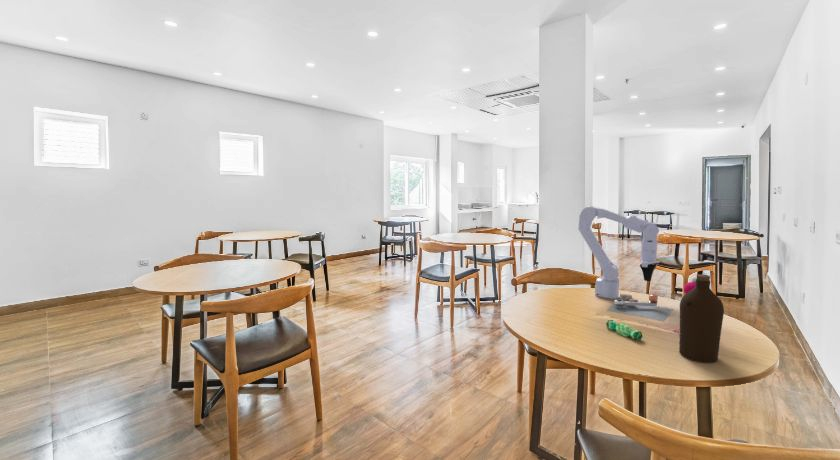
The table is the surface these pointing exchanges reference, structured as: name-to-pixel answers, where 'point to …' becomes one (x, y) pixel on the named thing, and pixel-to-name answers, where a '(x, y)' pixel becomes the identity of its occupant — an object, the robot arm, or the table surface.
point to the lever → (635, 302)
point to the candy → (624, 330)
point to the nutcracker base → (641, 310)
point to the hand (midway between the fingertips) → (647, 280)
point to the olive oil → (700, 322)
